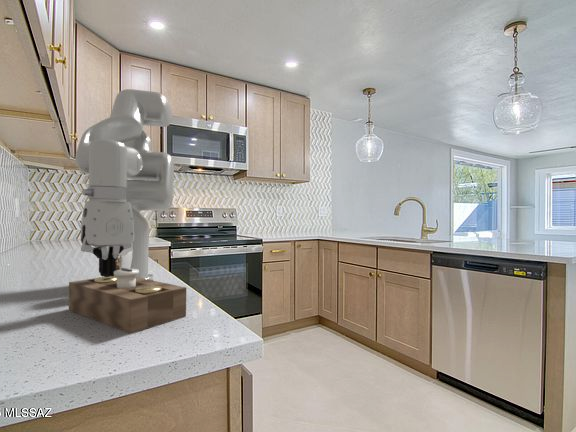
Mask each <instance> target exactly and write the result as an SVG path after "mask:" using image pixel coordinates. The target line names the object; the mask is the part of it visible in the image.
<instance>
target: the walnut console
mask: <svg viewBox="0 0 576 432" xmlns="http://www.w3.org/2000/svg"><path fill="white" fill-rule="evenodd" d="M115 277H117V276H115ZM95 278H96V277H95ZM95 278H89V279H88V278H87V279H81V280H76V281H69V282H68V310H69V311H71V312H74V313H75V314H79V315H81V316H85V317H87V318H89V319H92V320H95V321H97V322H100V323H103V324H105V325H108V326H110V327H112V328H116V329H118V330H121V331H123V332H126V333H128V334H133V333H137V332H140V331H143V330H146V329H149V328H153V327H156V326H160V325H162V324H165V323H166V324H167V323H169V322H172V321H176V320H178V319H182V318H184V317H187V287H186V286H181V285H176V284H172V283H171V284H170V283H168V282H161V281H156V280H154V279H153V280H148V279H143V278H138V277H136V286H134V287H129V288H124V289H118V288H117V281H114V282H108V283H102V284H99V283H95V282H94V279H95ZM142 286H161V287H162V291H161V292H156V293H151V294H147V295H142V294H138V293H135V289H136V288H138V287H142Z"/></svg>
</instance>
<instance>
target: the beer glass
mask: <svg viewBox="0 0 576 432" xmlns="http://www.w3.org/2000/svg"><path fill="white" fill-rule="evenodd" d="M107 252H108V246H107ZM132 255H133V246H132V243H131V247H130V248H128V249H125V250H123V251H122V252H121V253H120V254H119V256H118V258H116V270H121V268H127V269H130V268H131V263H132Z"/></svg>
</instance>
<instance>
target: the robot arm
mask: <svg viewBox="0 0 576 432" xmlns="http://www.w3.org/2000/svg"><path fill="white" fill-rule="evenodd" d="M172 118H173V112H172V107H171V104H170V102H169V101H168V98H167V97H166V96H165V95H164V94H162V93H160V92H157V91H151V90H150V91H149V90H140V89H134V88H133V89H130V88H128V89H122V90H120V91H119V92H118V93H117V94H116V96H115V100H114V102H113V105H112V108H111V113H110V114H109V117H107V118H105V119H103V120H100V121H99V122H97V123H95V124H93V125H91V126H90V127H88V128H87V129H86V130H85V131H84V132H83V134H82V136H81V138H80V140H79V143H78V145H77V149H76V153H75V163H76V166H77V168H78V170H79V171H80V172H81V173H83V174H85V175H88V186H87V188H83V189H82V192H81V193H82V196H86V197H87V199H88V200H86V201H85V203H84V206H83V212H82V214H81V215H82V216H81V224H80V242H81V247H80V251H81V252H82V253H83V252H84V253H89V254H90V253H91V254H93V255H94V256H95V257H96V258H97V259H98V272H99V274H100V277H110V276H114V271H116V258H118V256H119V254H120V253H121V252H122V251H123V250H125V249H128V248H130V247H131V243H132V246H133V255H132V263H131V268H130V269H138V270H139V274H138V275H136V277H138V278H143V279H148V280H153V281H154V275H153V274H151V273H149V243H150V242H149V235H150V232H149V231H150V226H149V222H148V220H147V219H146V218H145V217H144V215H143V214H142V213H141V211H155V212H156V211H162V212H163V211H167V210H170V209H171V208H172V205H173V200H174V183H175V182H174V181H175V180H174V177H175V164H174V160H173V157H172V156H171V155H170V154H169V153H167V152H164V151H163V152H162V151H152V147H153V145H152V144H153V143H152V140H151V138H150V137H149V135H148V134H147V133H146V132H145V130H143V127H144V126H149V127H162V128H164V127H165V128H167V127H169V126H170V125H171V122H172ZM107 246H108V252H107Z"/></svg>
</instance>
